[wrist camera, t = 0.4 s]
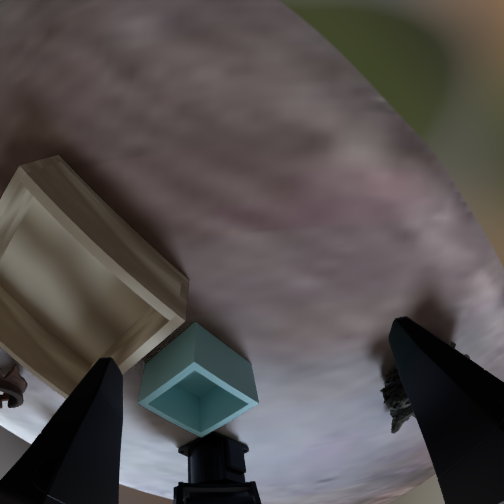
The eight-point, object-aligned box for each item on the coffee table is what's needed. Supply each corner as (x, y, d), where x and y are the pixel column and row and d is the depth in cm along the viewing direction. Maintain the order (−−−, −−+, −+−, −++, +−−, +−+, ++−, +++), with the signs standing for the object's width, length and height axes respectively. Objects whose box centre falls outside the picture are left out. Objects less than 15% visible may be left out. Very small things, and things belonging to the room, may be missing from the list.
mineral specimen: (353, 422, 26) (438, 460, 19) (406, 311, 30) (491, 336, 23) (379, 426, 36) (439, 451, 29) (418, 347, 40) (477, 366, 32)
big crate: (95, 367, 26) (81, 409, 21) (-12, 274, 21) (-43, 303, 16) (189, 280, 24) (185, 321, 19) (58, 154, 19) (19, 165, 14)
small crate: (200, 398, 29) (201, 437, 24) (145, 363, 26) (137, 403, 22) (251, 363, 28) (259, 403, 23) (195, 321, 25) (194, 361, 21)
